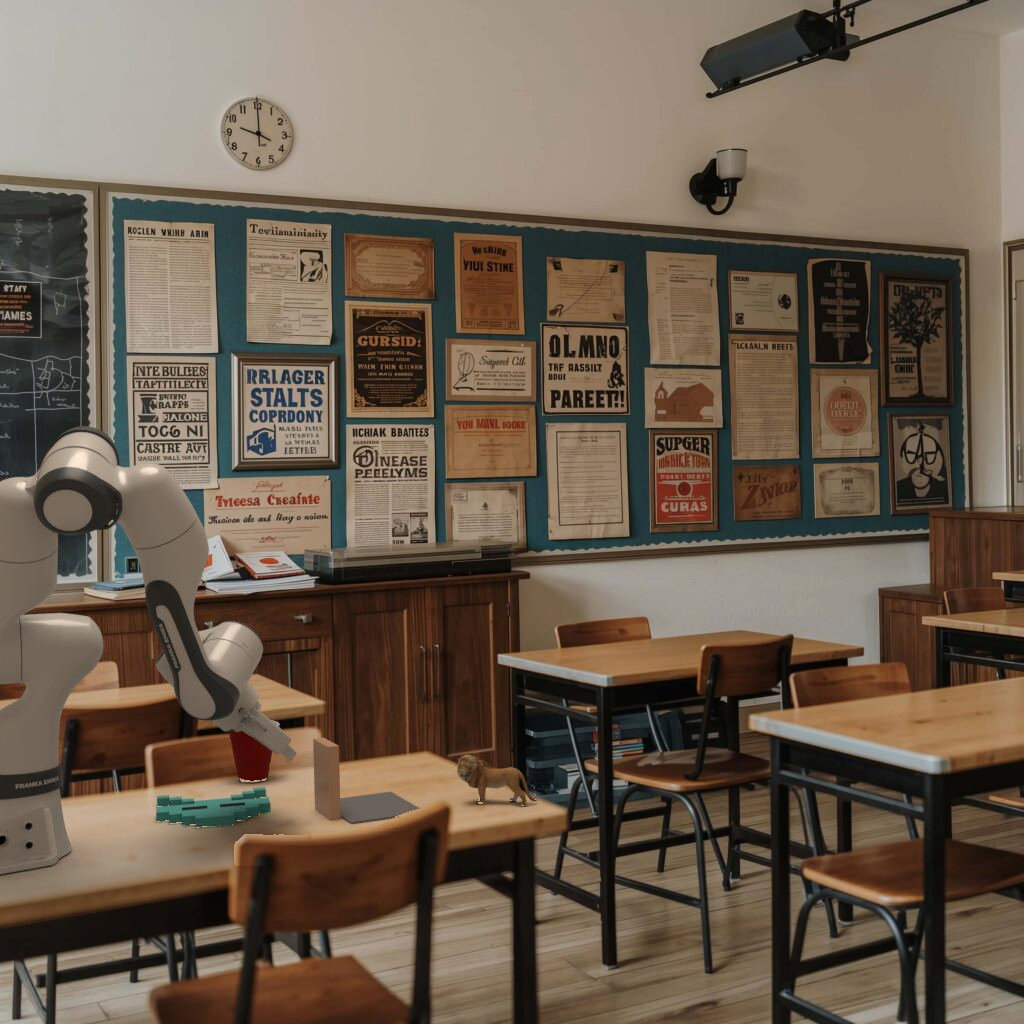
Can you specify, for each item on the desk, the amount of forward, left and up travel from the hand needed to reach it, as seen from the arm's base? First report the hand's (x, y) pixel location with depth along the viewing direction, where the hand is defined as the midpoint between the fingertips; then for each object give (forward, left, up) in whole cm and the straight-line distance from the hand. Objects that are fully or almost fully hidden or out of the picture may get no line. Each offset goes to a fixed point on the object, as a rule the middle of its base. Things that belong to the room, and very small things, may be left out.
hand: (292, 755), depth 217 cm
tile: (+7, -1, -12) cm, 14 cm away
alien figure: (-6, +16, -12) cm, 21 cm away
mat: (+15, -3, -12) cm, 19 cm away
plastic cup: (+14, +33, -12) cm, 38 cm away
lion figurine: (+31, -19, -12) cm, 38 cm away
